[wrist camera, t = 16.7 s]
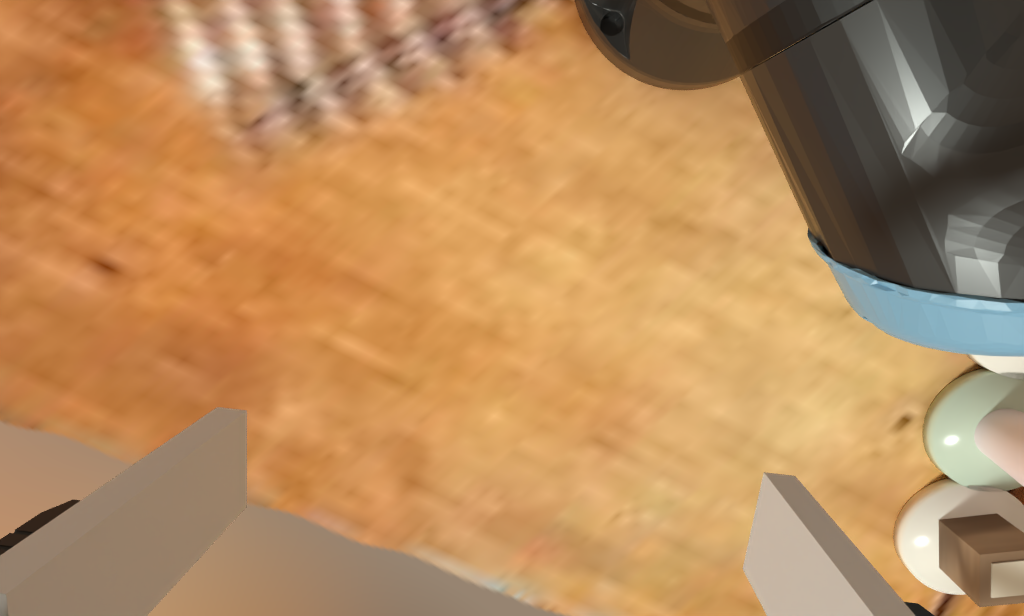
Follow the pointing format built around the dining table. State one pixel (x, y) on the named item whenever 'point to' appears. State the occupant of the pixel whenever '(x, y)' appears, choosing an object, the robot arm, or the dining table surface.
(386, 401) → the dining table surface
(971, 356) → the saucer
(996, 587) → the letter cube
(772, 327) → the dining table surface
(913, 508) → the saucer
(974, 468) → the saucer mid
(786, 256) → the dining table surface
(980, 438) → the smoothie
